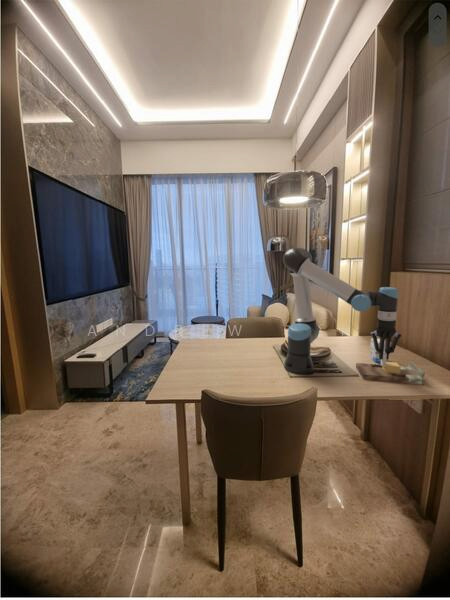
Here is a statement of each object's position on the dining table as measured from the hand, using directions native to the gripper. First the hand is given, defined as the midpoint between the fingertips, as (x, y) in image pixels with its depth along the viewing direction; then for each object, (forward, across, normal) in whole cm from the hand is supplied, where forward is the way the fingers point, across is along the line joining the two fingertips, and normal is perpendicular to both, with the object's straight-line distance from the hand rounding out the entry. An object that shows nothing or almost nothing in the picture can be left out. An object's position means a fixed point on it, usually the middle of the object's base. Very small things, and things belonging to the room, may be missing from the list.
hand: (383, 365), depth 123 cm
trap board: (+5, +2, 0) cm, 5 cm away
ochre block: (+3, +4, 0) cm, 5 cm away
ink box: (+5, +4, +20) cm, 21 cm away
